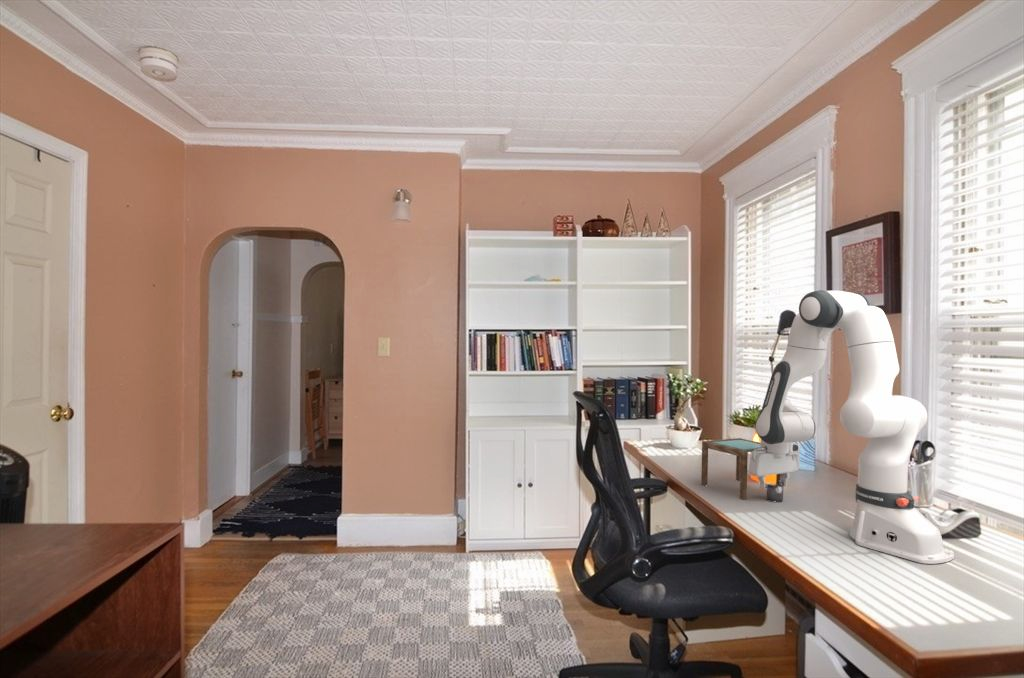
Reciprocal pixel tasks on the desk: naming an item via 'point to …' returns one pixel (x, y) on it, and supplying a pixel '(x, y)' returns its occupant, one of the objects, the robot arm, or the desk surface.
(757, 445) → the trapdoor
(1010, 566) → the desk surface
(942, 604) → the desk surface
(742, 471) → the teal-topped side table
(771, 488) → the iron weight
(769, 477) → the orange juice
